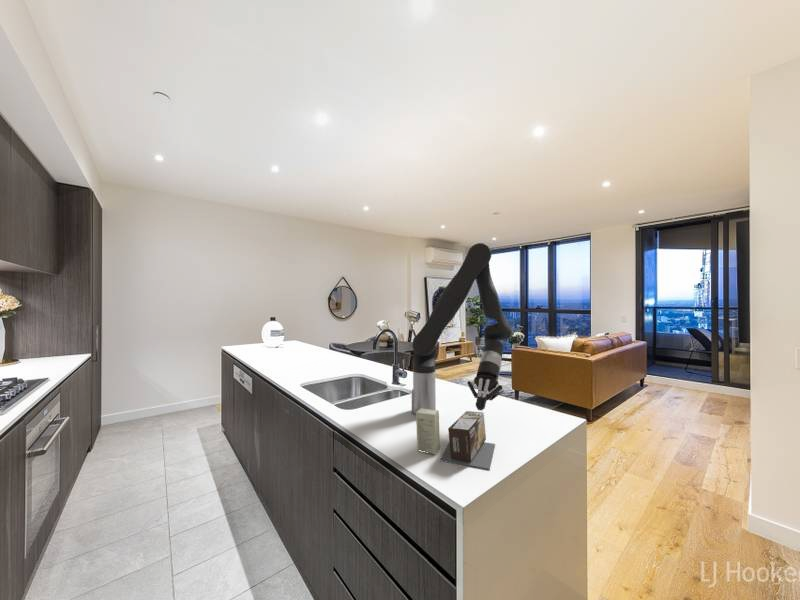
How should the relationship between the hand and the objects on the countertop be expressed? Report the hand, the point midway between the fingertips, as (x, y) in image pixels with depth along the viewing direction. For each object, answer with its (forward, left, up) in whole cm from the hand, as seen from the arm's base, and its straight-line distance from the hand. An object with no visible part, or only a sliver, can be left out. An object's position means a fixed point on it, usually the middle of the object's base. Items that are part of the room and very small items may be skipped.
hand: (479, 409), depth 107 cm
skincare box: (-14, -14, -10) cm, 22 cm away
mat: (-2, -11, -10) cm, 15 cm away
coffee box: (-1, -2, -5) cm, 5 cm away
